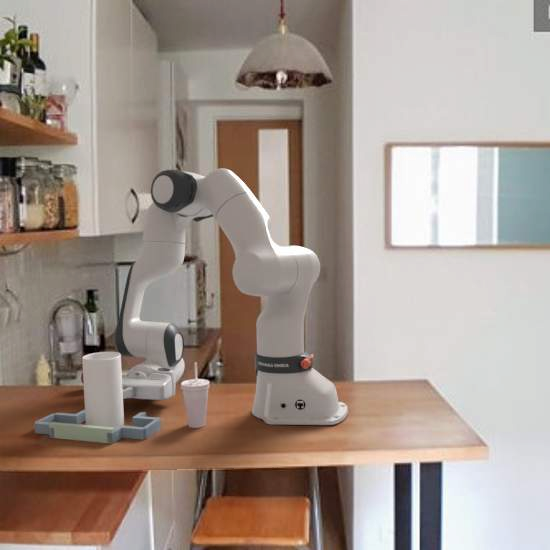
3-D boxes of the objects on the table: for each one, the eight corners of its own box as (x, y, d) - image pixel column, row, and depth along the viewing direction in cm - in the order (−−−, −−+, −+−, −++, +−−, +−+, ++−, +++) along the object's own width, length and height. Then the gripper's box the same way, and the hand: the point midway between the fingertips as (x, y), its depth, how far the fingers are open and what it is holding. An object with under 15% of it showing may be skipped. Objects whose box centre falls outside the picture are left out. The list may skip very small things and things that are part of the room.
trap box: (168, 423, 128) (167, 410, 127) (136, 446, 115) (135, 431, 114) (68, 415, 135) (68, 402, 135) (28, 435, 122) (27, 421, 122)
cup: (110, 433, 122) (106, 360, 121) (78, 430, 125) (74, 359, 123) (131, 421, 130) (127, 352, 129) (100, 418, 132) (97, 350, 131)
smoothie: (216, 421, 128) (213, 360, 127) (203, 431, 122) (201, 367, 121) (190, 419, 130) (188, 359, 129) (177, 428, 124) (174, 365, 123)
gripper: (108, 366, 146) (74, 380, 133) (179, 370, 140) (151, 385, 127) (109, 390, 147) (75, 406, 134) (180, 395, 141) (153, 413, 128)
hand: (113, 396), depth 130 cm, fingers closed, pressing on cup
